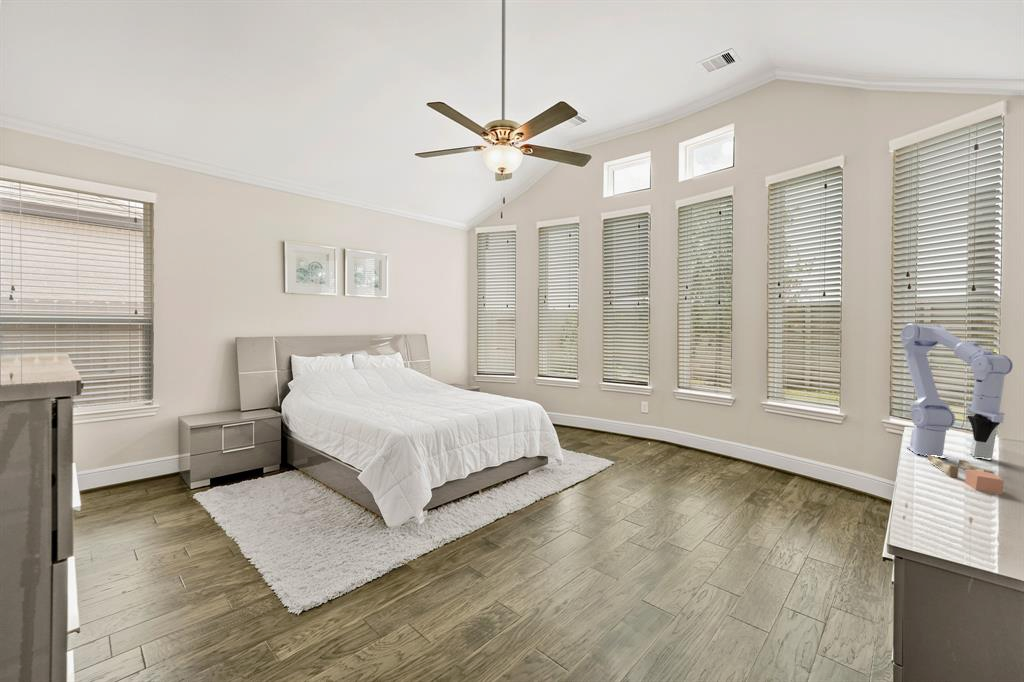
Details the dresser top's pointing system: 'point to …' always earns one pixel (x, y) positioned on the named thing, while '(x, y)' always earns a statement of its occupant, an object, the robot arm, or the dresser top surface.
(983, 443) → the skincare box
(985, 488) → the block
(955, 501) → the dresser top surface
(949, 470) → the chute
